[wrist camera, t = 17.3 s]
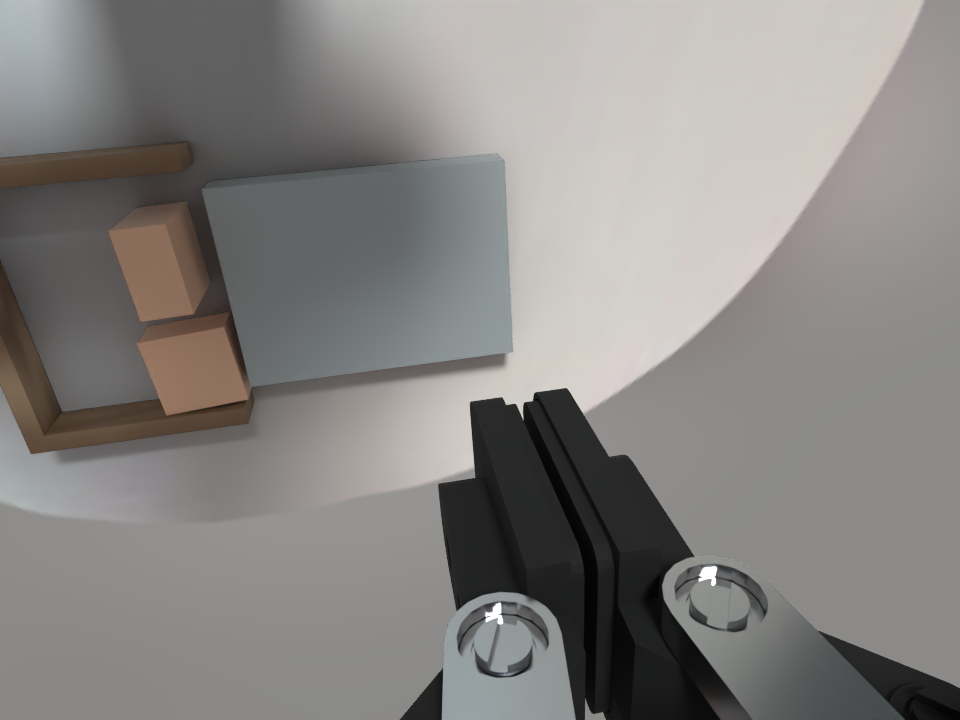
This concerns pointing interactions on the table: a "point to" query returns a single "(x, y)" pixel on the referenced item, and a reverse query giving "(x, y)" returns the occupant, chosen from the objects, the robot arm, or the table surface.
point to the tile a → (161, 260)
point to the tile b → (195, 363)
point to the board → (365, 266)
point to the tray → (12, 354)
